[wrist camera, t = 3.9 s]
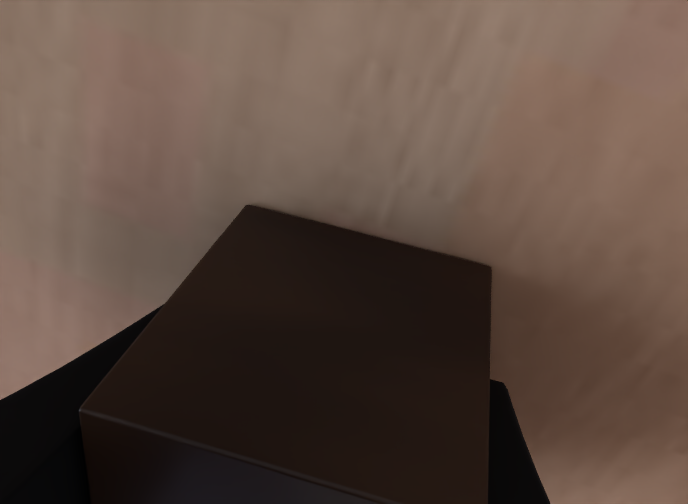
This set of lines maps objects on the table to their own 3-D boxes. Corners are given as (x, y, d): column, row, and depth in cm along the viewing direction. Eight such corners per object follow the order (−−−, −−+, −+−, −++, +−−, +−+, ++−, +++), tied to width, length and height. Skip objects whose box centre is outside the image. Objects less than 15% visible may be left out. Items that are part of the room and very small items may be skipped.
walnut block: (492, 265, 10) (489, 534, 6) (431, 437, 12) (396, 714, 8) (246, 202, 10) (75, 408, 6) (232, 379, 13) (103, 614, 9)
